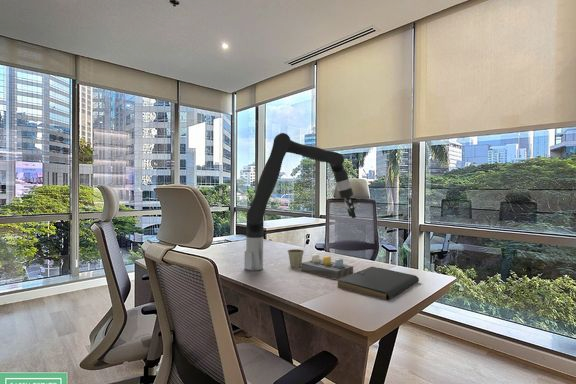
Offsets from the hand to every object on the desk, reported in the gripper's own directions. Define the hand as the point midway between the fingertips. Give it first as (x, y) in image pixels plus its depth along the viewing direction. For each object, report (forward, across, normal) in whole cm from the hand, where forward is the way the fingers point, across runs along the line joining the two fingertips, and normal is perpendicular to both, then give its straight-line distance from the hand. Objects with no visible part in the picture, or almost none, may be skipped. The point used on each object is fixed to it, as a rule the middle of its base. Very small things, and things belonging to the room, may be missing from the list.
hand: (352, 216), depth 167 cm
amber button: (+20, +11, -21) cm, 31 cm away
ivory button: (+18, +6, -27) cm, 33 cm away
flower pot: (+18, 0, -38) cm, 42 cm away
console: (+22, +11, -22) cm, 34 cm away
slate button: (+21, +16, -16) cm, 31 cm away
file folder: (+29, +30, -1) cm, 42 cm away
